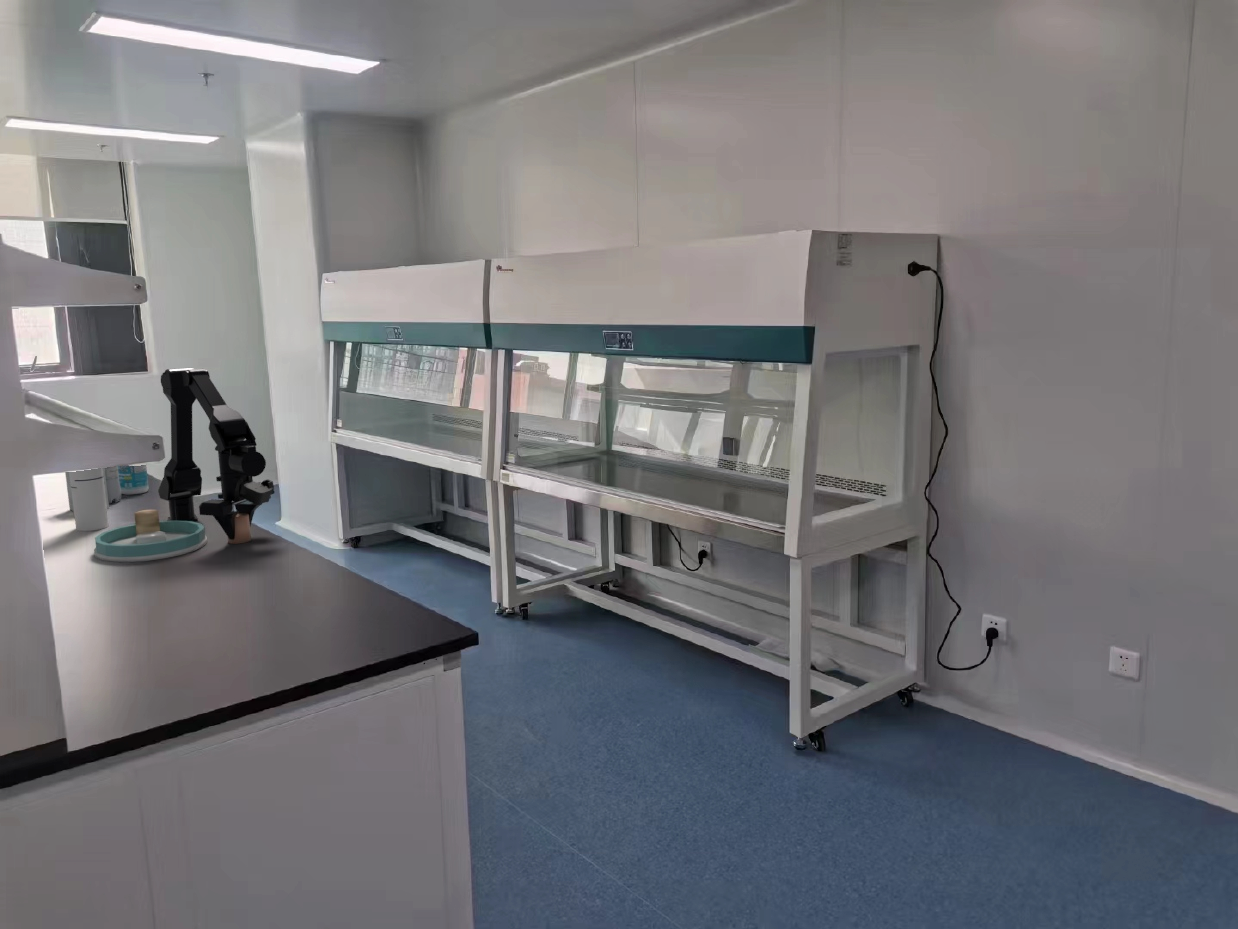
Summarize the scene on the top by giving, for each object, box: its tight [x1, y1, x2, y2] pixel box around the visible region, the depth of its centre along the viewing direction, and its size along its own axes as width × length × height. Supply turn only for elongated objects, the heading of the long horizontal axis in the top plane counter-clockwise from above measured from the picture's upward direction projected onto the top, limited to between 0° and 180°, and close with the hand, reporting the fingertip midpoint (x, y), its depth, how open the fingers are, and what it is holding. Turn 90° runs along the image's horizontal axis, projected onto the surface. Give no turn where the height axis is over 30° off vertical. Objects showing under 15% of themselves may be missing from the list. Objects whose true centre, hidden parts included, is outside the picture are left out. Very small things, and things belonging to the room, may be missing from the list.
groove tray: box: [93, 520, 208, 563], centre depth 207 cm, size 23×23×4 cm
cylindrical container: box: [69, 468, 110, 532], centre depth 224 cm, size 7×7×25 cm
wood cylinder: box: [133, 509, 160, 535], centre depth 212 cm, size 5×5×6 cm
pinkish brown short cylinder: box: [227, 513, 252, 544], centre depth 212 cm, size 5×5×6 cm
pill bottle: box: [117, 464, 150, 496], centre depth 264 cm, size 8×7×14 cm
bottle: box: [105, 466, 122, 504], centre depth 252 cm, size 7×7×20 cm
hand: (239, 536), depth 212 cm, fingers closed on pinkish brown short cylinder, 5 cm apart
